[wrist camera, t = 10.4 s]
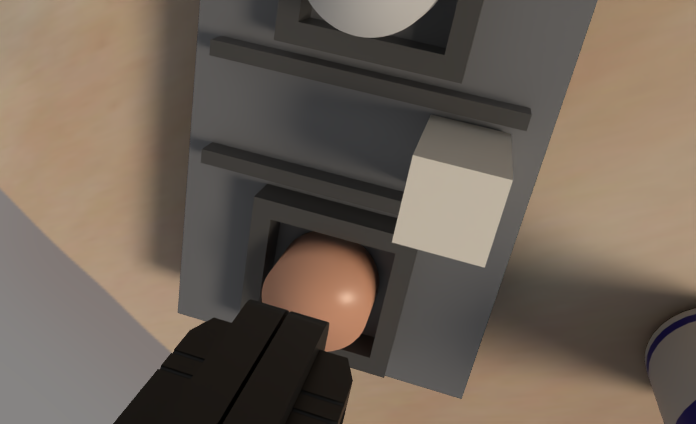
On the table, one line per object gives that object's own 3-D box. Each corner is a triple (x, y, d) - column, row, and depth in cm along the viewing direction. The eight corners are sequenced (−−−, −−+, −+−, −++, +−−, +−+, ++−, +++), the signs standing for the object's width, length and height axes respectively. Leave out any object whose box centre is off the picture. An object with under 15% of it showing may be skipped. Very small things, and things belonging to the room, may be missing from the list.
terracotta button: (288, 218, 26) (268, 243, 24) (388, 246, 25) (378, 273, 23) (275, 304, 28) (255, 334, 25) (368, 331, 27) (356, 364, 25)
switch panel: (250, -210, 23) (196, -244, 19) (632, -144, 21) (662, -166, 17) (205, 282, 32) (162, 330, 28) (465, 359, 30) (459, 421, 26)
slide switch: (430, 114, 23) (412, 155, 18) (510, 133, 22) (512, 180, 18) (412, 187, 24) (391, 242, 19) (488, 207, 23) (484, 267, 19)
